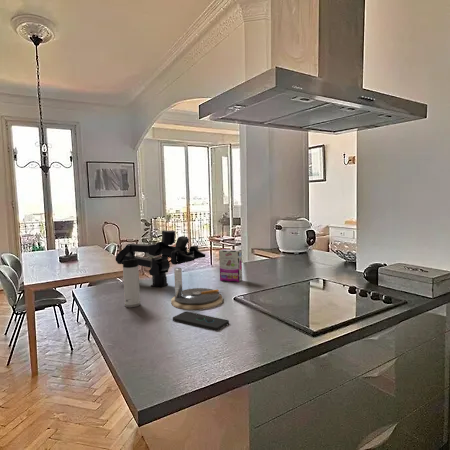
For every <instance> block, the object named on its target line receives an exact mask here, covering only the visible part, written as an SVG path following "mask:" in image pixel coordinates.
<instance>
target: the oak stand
mask: <svg viewBox="0 0 450 450" xmlns="http://www.w3.org/2000/svg"><path fill="white" fill-rule="evenodd" d="M170 302H171V303H170V304H171V305H172V306H173V307H175V308H176V309H181V310H188V311H190V310H191V311H197V310H200V311H201V310H206V309H211V308H215V307H218V306H220V305H221V304H222V303H223V296H222V295H221V294H220V293H219V299H218V300H216V301H214V302H212V303H208V304H202V305H186V304H181V303H178V302H176V301H175V295H174V296H173V297H172V298H171V300H170Z"/></svg>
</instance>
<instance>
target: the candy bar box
mask: <svg viewBox="0 0 450 450" xmlns="http://www.w3.org/2000/svg"><path fill="white" fill-rule="evenodd" d="M242 254H243V253H242V249H226V248H225V249H224V248H223V249H220V250H219V251H218V255H219V257H218V258H219V259H218V260H219V281H220V282H232V283H240V282H242V281H243V258H242V257H243V255H242Z"/></svg>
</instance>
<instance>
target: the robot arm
mask: <svg viewBox="0 0 450 450" xmlns="http://www.w3.org/2000/svg"><path fill="white" fill-rule="evenodd" d="M189 240H190V239H189V237H188V236H184V235H183V236H178V238H177V240H176V230H161V241H159V242H157V243H153V244H145V243H144V244H143V243H133V242H132V243H128V244H126V246H125V247H123V249H121V250H120V251H119V252H117V254H116V255H115V262H116V263H117V264H118V265H123V260H131V259H138V266H141V267H144V268H145V267H146V268H149V270H148V272H149V275H150V276H151V277H152V284H151V285H150V287H154V288H163V287H165V286H167V285H169V283H167V282H168V280H167V273H169V269H170V267H171V264H172V265H174V266H176V265H181V264H185V263H189V262H193V261H195V260H197V259H202V258H206V254H205V253H203V252H202V251H200V250H199V246H198V245H191V246H190V247H189V248H188V246H187V245H188V243H189ZM173 244H175V246H174V245H173ZM188 249H189V250H188ZM135 253H144V254H145V253H147V254H148V255H150V256H153V257H152V258H148V257H147V258H146V257H143V256H138V255H135ZM155 256H157V257H155ZM169 258H170V261H169Z"/></svg>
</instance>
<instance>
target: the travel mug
mask: <svg viewBox="0 0 450 450" xmlns="http://www.w3.org/2000/svg"><path fill="white" fill-rule="evenodd" d="M139 273H140V269H139V265H138V259H131V260H123V264H122V276H123V278H122V279H123V294H124V306H125V308H137V307H139V306H140V305H141V297H140V296H141V295H140V294H141V292H140V291H141V290H140V274H139Z"/></svg>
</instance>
